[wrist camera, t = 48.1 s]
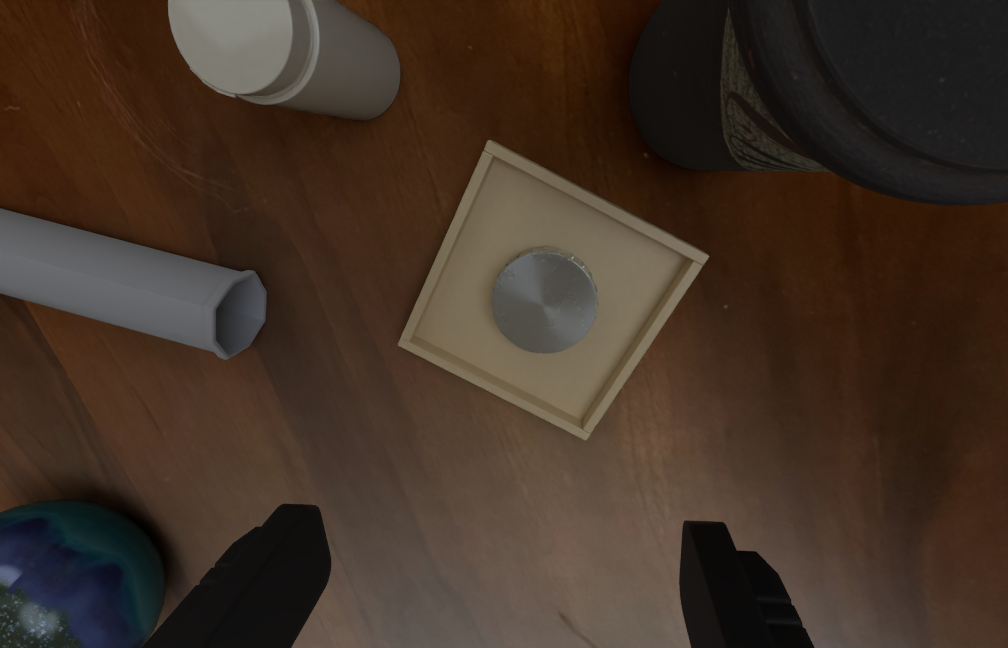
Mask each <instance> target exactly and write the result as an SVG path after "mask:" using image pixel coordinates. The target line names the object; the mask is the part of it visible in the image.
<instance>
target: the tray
mask: <svg viewBox="0 0 1008 648" xmlns="http://www.w3.org/2000/svg"><path fill="white" fill-rule="evenodd" d="M545 245H547V247H554V248H559V247H560V248H561V249H562V250H565V251H567V252H569V253H574V256H576V257H577V258H578V259H579V260H580V261H583V262H584V265H585V266H586V267H587V269H588V270H589V272H592V277H593V281H594V284H596V286H597V292H596V295H597V299H598V305H597V312H596V318H595V320H594V322H593V324H592V326H591V328H590V330H589V331H588V333H587V334H586V335H585V336H584V337H583V338H582V339H581V340H580V341H579V342H578V343H576V344H575V345H574V346H572V347H570V348H568V349H566V350H563V351H560V352H556V353H548V354H542V353H534V352H530V351H527V350H524V349H522V348H520V347H518V346H516V345H515V344H513V343H512V342H510V341H509V340H508V339H507V338H506V337H505V336H504V335H503V334H502V332H501V331H500V329H499V328H498V326H497V324H496V322H495V320H494V317H493V313H492V306H491V298H492V292H493V286H494V284H495V282H496V280H497V278H498V277H499V276H498V274H499V272H500V271H501V270H503V269H504V267H505V266H506V264H507V262H508V260H509V259H510V260H512V259H513V258H514V257H515V256H517V255H518V253H519V252H521V253H522V252H524V251H526V250H529V249H531V247H534V248H537V247H545ZM708 258H709V255H708V254H706V253H705V252H703V251H702V250H701V249H699V248H697V247H695V246H693V245H691V244H689V243H687V242H685V241H683V240H682V239H680V238H678V237H676V236H674V235H672V234H670V233H668V232H666V231H664V230H662V229H661V228H659V227H657V226H655V225H653V224H651V223H649V222H647V221H645V220H643V219H642V218H640V217H638V216H636V215H634V214H632V213H630V212H628V211H626V210H624V209H623V208H621V207H619V206H617V205H615V204H613V203H611V202H609V201H607V200H605V199H603V198H602V197H600V196H598V195H596V194H594V193H592V192H590V191H588V190H586V189H584V188H583V187H581V186H579V185H577V184H575V183H573V182H571V181H569V180H567V179H565V178H564V177H562V176H560V175H558V174H556V173H554V172H552V171H550V170H548V169H546V168H544V167H543V166H541V165H539V164H537V163H535V162H533V161H531V160H529V159H527V158H525V157H524V156H522V155H520V154H518V153H516V152H514V151H512V150H510V149H508V148H506V147H505V146H503V145H501V144H499V143H497V142H495V141H492V140H488V141H487V143H486V146H485V148H484V151H483V152H482V155H481V157H480V159H479V161H478V164H477V166H476V168H475V170H474V173H473V175H472V177H471V179H470V182H469V184H468V186H467V188H466V191H465V193H464V195H463V198H462V200H461V202H460V204H459V207H458V209H457V211H456V213H455V216H454V218H453V220H452V222H451V225H450V227H449V229H448V231H447V234H446V236H445V238H444V241H443V243H442V245H441V247H440V250H439V252H438V254H437V256H436V259H435V261H434V263H433V265H432V268H431V270H430V272H429V274H428V277H427V279H426V281H425V284H424V286H423V288H422V290H421V293H420V295H419V297H418V299H417V302H416V304H415V306H414V308H413V311H412V313H411V315H410V317H409V320H408V322H407V324H406V327H405V329H404V331H403V333H402V336H401V338H400V340H399V343H398V346H400V347H402V348H404V349H406V350H408V351H410V352H412V353H414V354H416V355H418V356H420V357H422V358H424V359H425V360H427V361H429V362H431V363H433V364H435V365H437V366H439V367H441V368H443V369H445V370H447V371H449V372H451V373H453V374H455V375H457V376H459V377H461V378H463V379H465V380H467V381H469V382H471V383H473V384H475V385H477V386H479V387H481V388H483V389H485V390H487V391H489V392H491V393H493V394H495V395H497V396H499V397H501V398H502V399H504V400H506V401H508V402H510V403H512V404H514V405H516V406H518V407H520V408H522V409H524V410H526V411H528V412H530V413H532V414H534V415H536V416H538V417H540V418H542V419H544V420H546V421H548V422H550V423H552V424H554V425H556V426H558V427H560V428H562V429H564V430H566V431H568V432H570V433H572V434H574V435H576V436H577V437H579V438H581V439H583V440H585V441H586V440H587V439H588V437H589V436H590V434H591V433H592V431H593V430H594V428H595V427H596V425H597V424H598V422H599V421H600V419H601V418H602V416H603V415H604V413H605V412H606V410H607V409H608V407H609V406H610V404H611V403H612V401H613V400H614V398H615V397H616V395H617V394H618V393H619V391H620V390H621V388H622V387H623V385H624V384H625V382H626V381H627V379H628V378H629V376H630V375H631V373H632V372H633V370H634V369H635V367H636V366H637V364H638V363H639V361H640V360H641V358H642V357H643V355H644V354H645V352H646V351H647V349H648V348H649V346H650V345H651V343H652V342H653V340H654V339H655V337H656V336H657V334H658V333H659V331H660V330H661V328H662V327H663V325H664V324H665V322H666V321H667V319H668V318H669V316H670V315H671V313H672V312H673V310H674V309H675V307H676V306H677V304H678V303H679V301H680V300H681V298H682V297H683V295H684V294H685V292H686V291H687V289H688V288H689V286H690V285H691V283H692V282H693V280H694V279H695V277H696V276H697V274H698V273H699V271H700V270H701V268H702V265H704V264H705V262H706V261H707V259H708Z"/></svg>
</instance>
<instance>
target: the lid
mask: <svg viewBox="0 0 1008 648" xmlns="http://www.w3.org/2000/svg"><path fill="white" fill-rule="evenodd" d="M498 276H499V277H498V278H497V280H496V282H495V284H494V286H493V292H492V298H491V306H492V313H493V317H494V320H495V322H496V324H497V326H498V328H499V329H500V331H501V332H502V334H503V335H504V336H505V337H506V338H507V339H508V340H509V341H510V342H512V343H513V344H515V345H516V346H518V347H520V348H522V349H524V350H527V351H530V352H534V353H542V354H548V353H556V352H560V351H563V350H566V349H568V348H570V347H572V346H574V345H575V344H576V343H578V342H579V341H580V340H581V339H582V338H583V337H584V336H585V335H586V334H587V333H588V331H589V330H590V328H591V326H592V324H593V322H594V320H595V318H596V312H597V305H598V299H597V295H596V292H597V286H596V284H594V281H593V277H592V272H589V270H588V269H587V267H586V266H585V265H584V262H583V261H580V260H579V259H578V258H577V257H576V256H574V253H569V252H567V251H565V250H562V249H561V248H560V247H559V248H554V247H547V245H545V247H537V248H534V247H531V249H529V250H526V251H524V252H522V253H521V252H519V253H518V255H517V256H515V257H514V258H513V259H512V260H510V259H509V260H508V262H507V264H506V266H505V267H504V269H503V270H501V271H500V272H499V274H498Z"/></svg>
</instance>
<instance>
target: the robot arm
mask: <svg viewBox="0 0 1008 648" xmlns="http://www.w3.org/2000/svg"><path fill="white" fill-rule="evenodd" d="M330 571H331V555H330V551H329V546H328V542H327V538H326V533H325V529H324V525H323V520H322V516H321V512H320V510H319V508H318V507H317V506H316V505H303V504H282V505H280V506H279V507H278V508H277V509H276V510H275V511H274V512H273V513H272V515H271V516H270V517H269V518H268V519H267V521H266V522H265V523H264V524H263V525H262V526H261V527H255V528H254V529H252V530H251V531H250V532H248V533H247V534H245V535H244V536H243V537H241V538H240V539H238V540H237V541H236V542H234V543H233V544H232V545H231V546H230V547H229V548H228V550H227V551H226V552H225V553H224V554H223V555H222V556H221V558H220V559H219V560H218V561H217V562H216V563H215V567H214V568H211V569H210V570H209V571H208V572H207V573H206V575H205V576H204V577H203V578H202V579H201V580H200V584H199V585H196V586H195V587H194V588H193V589H192V591H191V592H190V593H189V594H188V595H187V596H186V597H185V599H184V600H183V601H182V602H181V603H180V604H179V605H178V607H177V608H176V609H175V610H174V611H173V612H172V613H171V615H170V616H169V617H168V618H167V619H166V620H165V621H164V623H163V624H162V625H161V626H160V627H159V628H158V629H157V631H156V632H155V633H154V634H153V635H152V636H151V637H150V639H149V640H148V641H147V642H146V643H145V644H144V645H143V646H142V648H291V647H292V645H293V643H294V642H295V640H296V638H297V636H298V635H299V633H300V631H301V629H302V628H303V626H304V624H305V622H306V621H307V619H308V617H309V615H310V614H311V612H312V610H313V608H314V607H315V605H316V603H317V601H318V600H319V598H320V596H321V594H322V593H323V591H324V589H325V587H326V585H327V583H328V580H329V576H330ZM679 585H680V598H681V605H682V611H683V615H684V619H685V624H686V628H687V632H688V636H689V640H690V644H691V648H814V646H813V644H812V642H811V640H810V638H809V636H808V633H807V631H806V629H805V628H803V626H802V621H801V619H800V617H799V615H798V613H797V611H796V609H795V607H794V606H793V605H792V604H791V599H790V597H789V595H788V593H787V591H786V589H785V587H784V585H783V583H782V581H781V579H780V577H779V575H778V573H777V572H776V571H775V570H774V569H773V568H772V567H771V566H770V565H769V564H768V563H767V562H766V561H765V560H764V559H763V558H762V557H761V556H760V555H759V554H758V553H757V552H755V551H737V550H736V548H735V546H734V543H733V541H732V538H731V536H730V534H729V531H728V529H727V527H726V525H725V524H724V523H723V522H710V521H684V523H683V530H682V546H681V561H680V577H679Z"/></svg>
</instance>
